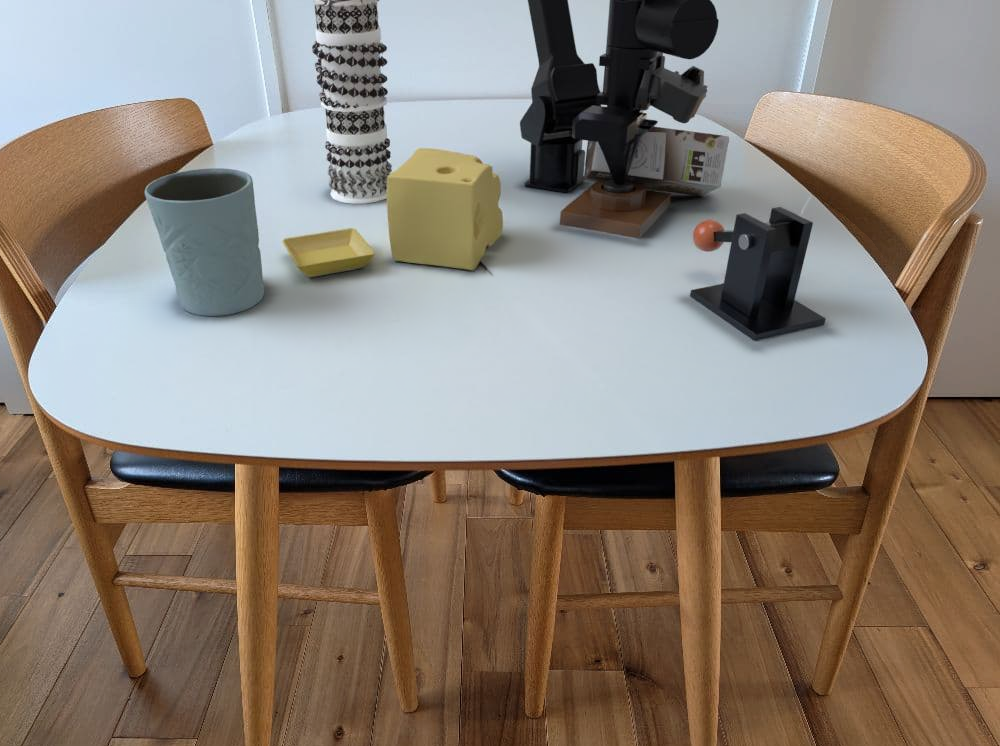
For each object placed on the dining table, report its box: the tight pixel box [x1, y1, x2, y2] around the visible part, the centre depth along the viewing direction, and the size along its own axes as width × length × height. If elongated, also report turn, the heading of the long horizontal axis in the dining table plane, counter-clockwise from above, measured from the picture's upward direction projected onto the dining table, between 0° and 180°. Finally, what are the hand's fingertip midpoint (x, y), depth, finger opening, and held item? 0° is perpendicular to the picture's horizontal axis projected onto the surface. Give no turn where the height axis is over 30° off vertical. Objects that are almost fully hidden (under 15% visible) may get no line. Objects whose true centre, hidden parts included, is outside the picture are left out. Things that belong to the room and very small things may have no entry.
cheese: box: [386, 147, 504, 271], centre depth 90 cm, size 10×11×10 cm
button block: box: [559, 179, 672, 239], centre depth 99 cm, size 10×12×4 cm
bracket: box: [689, 206, 827, 342], centre depth 75 cm, size 10×8×10 cm
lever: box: [692, 219, 791, 253], centre depth 78 cm, size 12×3×3 cm, turn 22°
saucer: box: [281, 227, 376, 278], centre depth 89 cm, size 9×9×2 cm
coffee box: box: [582, 126, 730, 197], centre depth 102 cm, size 9×6×16 cm
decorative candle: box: [311, 0, 393, 205], centre depth 102 cm, size 9×9×25 cm
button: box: [603, 179, 634, 194], centre depth 98 cm, size 4×4×2 cm
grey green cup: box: [144, 167, 265, 317], centre depth 80 cm, size 10×10×12 cm
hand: (619, 183), depth 97 cm, fingers closed, pressing on button
